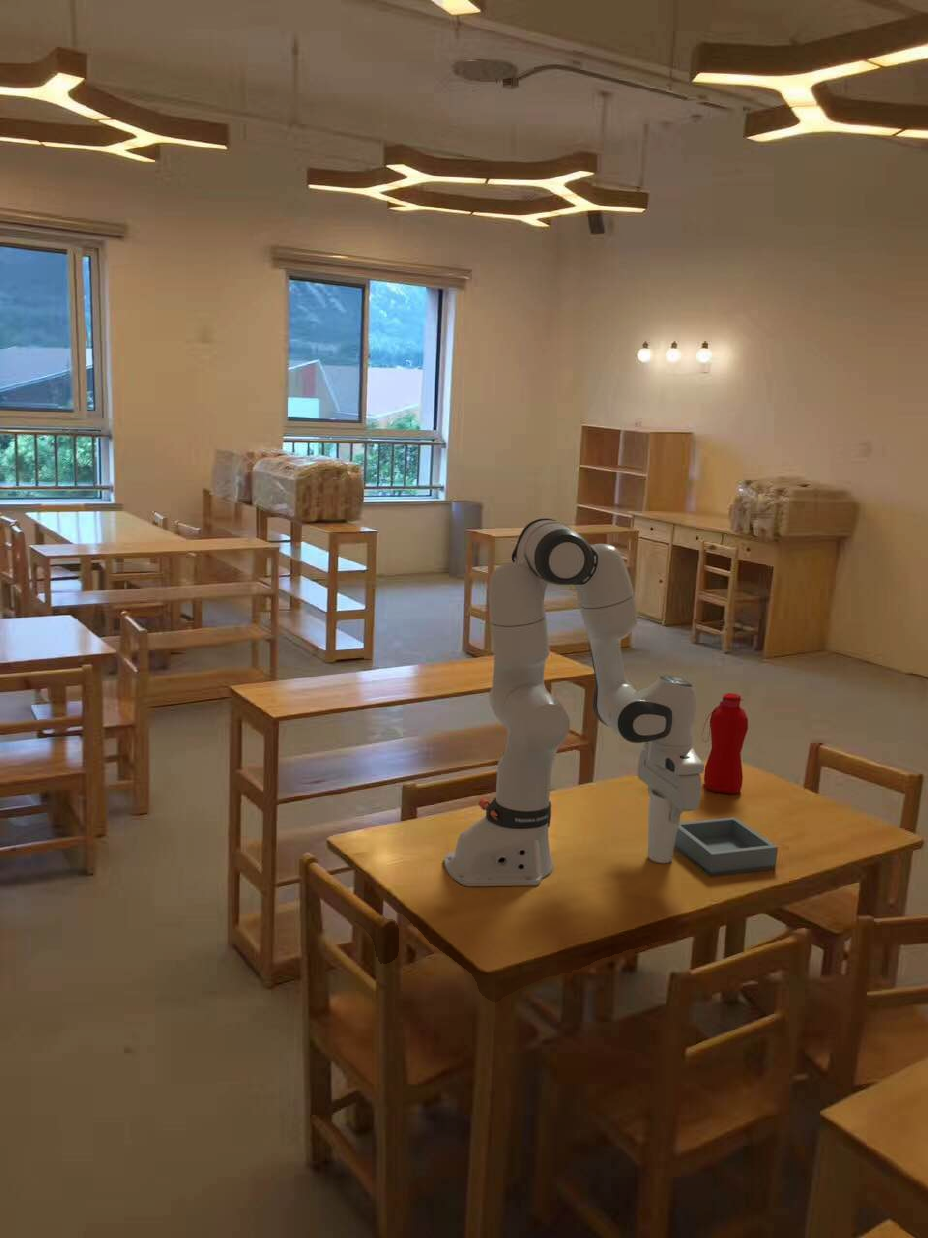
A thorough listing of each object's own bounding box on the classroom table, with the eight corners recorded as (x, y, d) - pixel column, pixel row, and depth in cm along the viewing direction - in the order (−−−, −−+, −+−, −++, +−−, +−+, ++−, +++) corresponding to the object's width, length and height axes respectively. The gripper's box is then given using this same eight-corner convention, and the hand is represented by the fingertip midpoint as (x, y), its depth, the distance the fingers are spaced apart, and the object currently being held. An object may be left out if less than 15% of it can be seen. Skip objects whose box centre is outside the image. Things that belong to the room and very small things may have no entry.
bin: (709, 877, 208) (712, 854, 207) (670, 844, 223) (672, 823, 222) (775, 869, 213) (778, 847, 212) (732, 837, 228) (735, 817, 227)
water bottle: (695, 779, 263) (705, 687, 258) (738, 783, 262) (749, 691, 257) (697, 792, 255) (707, 697, 249) (742, 796, 253) (753, 701, 248)
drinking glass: (676, 868, 211) (682, 801, 208) (643, 863, 213) (649, 797, 209) (676, 854, 218) (682, 789, 215) (644, 850, 219) (650, 785, 216)
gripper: (632, 737, 219) (627, 797, 222) (681, 770, 200) (675, 835, 203) (658, 735, 221) (653, 795, 224) (709, 768, 202) (702, 832, 205)
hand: (664, 814), depth 213 cm, fingers closed on drinking glass, 7 cm apart
